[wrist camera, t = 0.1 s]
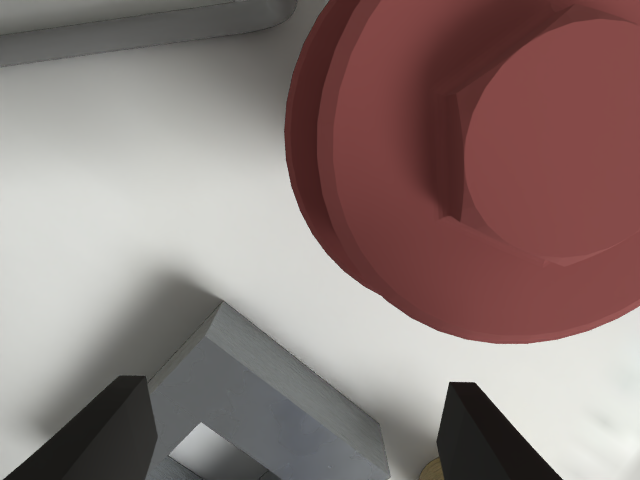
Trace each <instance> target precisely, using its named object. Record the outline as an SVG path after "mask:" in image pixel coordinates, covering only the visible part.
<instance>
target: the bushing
mask: <svg viewBox="0 0 640 480" xmlns="http://www.w3.org/2000/svg"><path fill="white" fill-rule="evenodd" d="M419 480H444V476H443V472H442V467H441V462H440V457H438V458H436V459H435V460H433V461H431V462H430V463H429V464H428V465H427V466H426V467H425V468H424V469H423V471H422V472H421V475H420V477H419Z"/></svg>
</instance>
